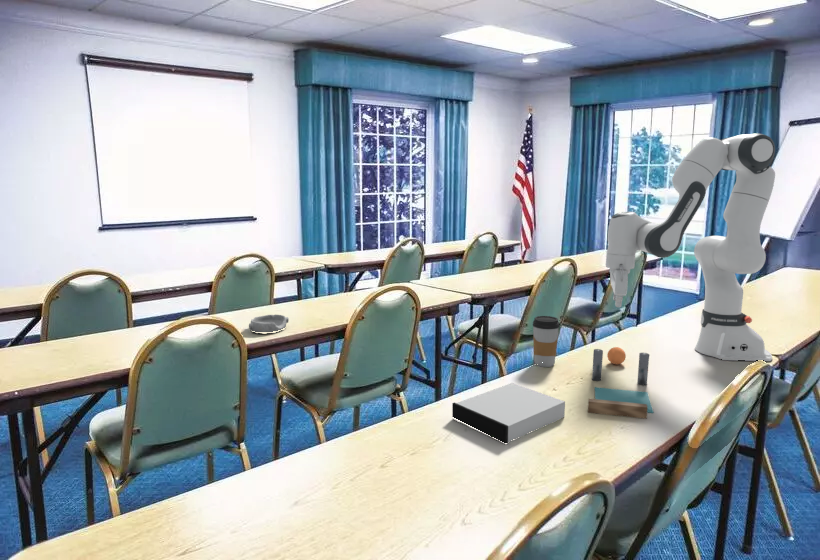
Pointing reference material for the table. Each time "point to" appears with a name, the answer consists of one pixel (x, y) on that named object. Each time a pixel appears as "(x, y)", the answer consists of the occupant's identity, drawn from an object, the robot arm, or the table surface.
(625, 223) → the robot arm
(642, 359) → the post
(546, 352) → the coffee cup
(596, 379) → the post
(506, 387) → the disc drive
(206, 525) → the table surface
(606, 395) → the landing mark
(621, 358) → the ball
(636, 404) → the stopper wall
